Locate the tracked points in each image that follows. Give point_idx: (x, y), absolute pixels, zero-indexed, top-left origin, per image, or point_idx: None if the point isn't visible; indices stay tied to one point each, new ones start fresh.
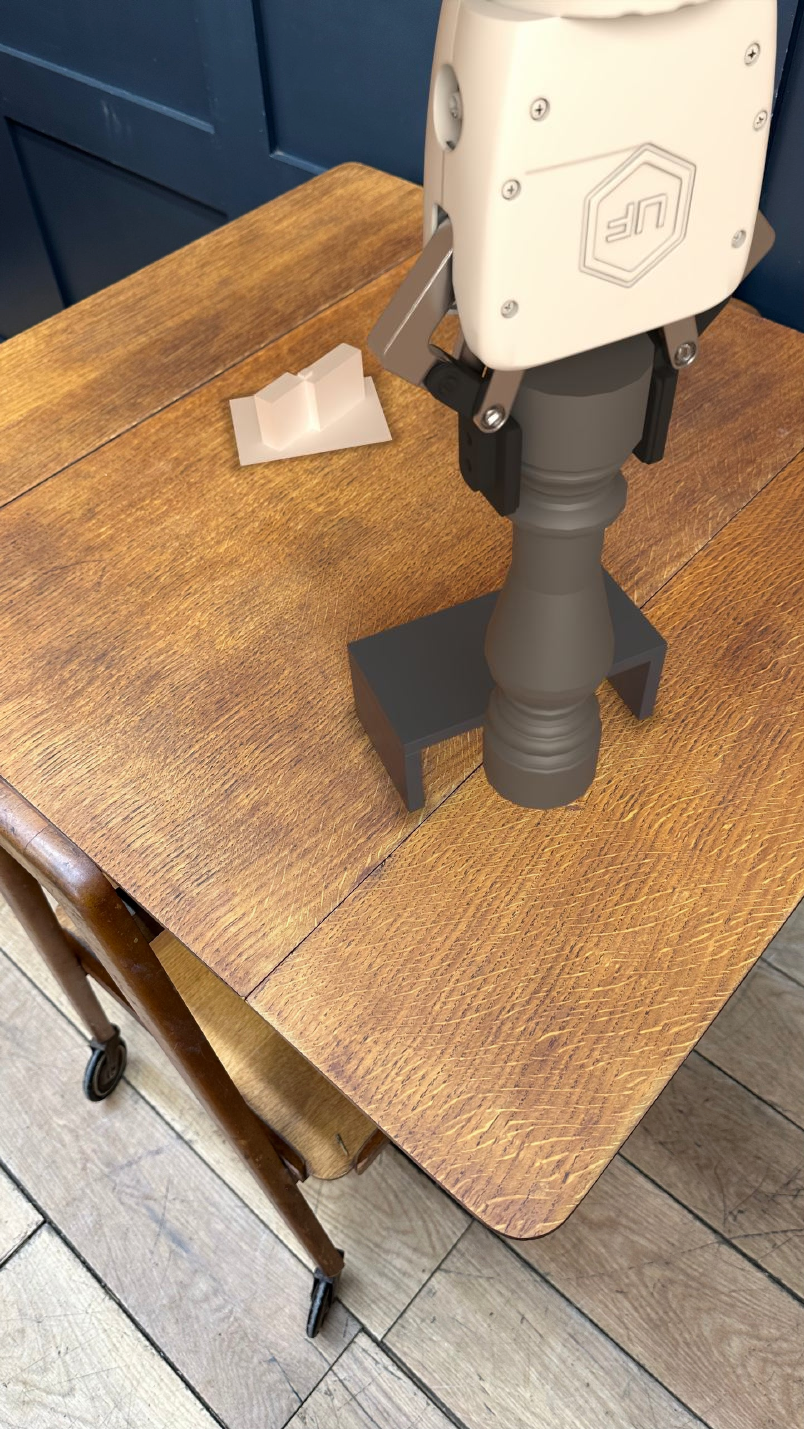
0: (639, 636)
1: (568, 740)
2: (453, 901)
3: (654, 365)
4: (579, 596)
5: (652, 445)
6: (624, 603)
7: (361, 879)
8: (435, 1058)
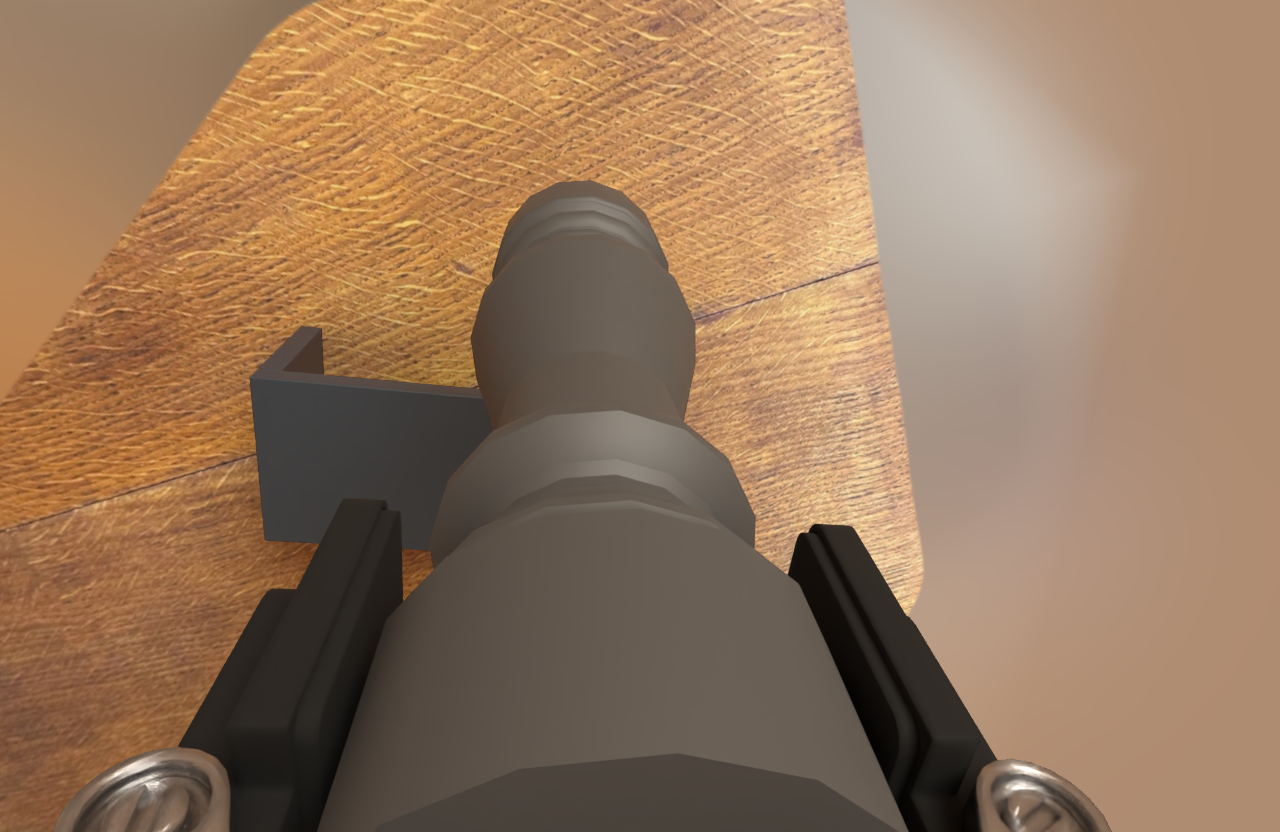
0: (280, 405)
1: (594, 221)
2: None
3: (286, 801)
4: (597, 344)
5: (371, 540)
6: (269, 458)
7: (717, 315)
8: (771, 88)
